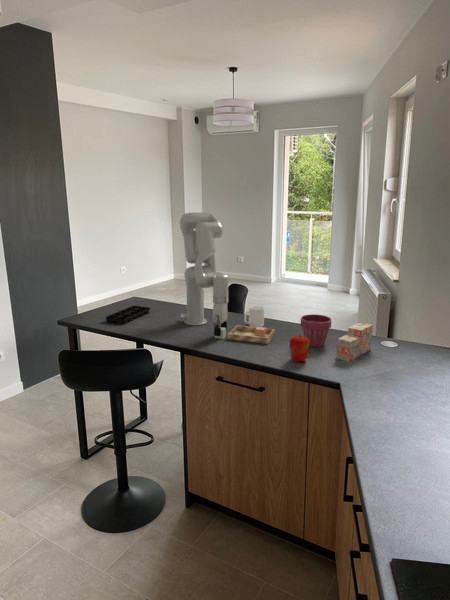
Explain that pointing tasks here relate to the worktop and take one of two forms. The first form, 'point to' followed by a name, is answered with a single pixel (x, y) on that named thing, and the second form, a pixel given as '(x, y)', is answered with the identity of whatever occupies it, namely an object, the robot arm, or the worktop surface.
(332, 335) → the worktop surface
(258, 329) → the terracotta block
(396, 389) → the worktop surface
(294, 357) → the apple
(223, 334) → the sage block
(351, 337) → the stack of blocks
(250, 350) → the worktop surface
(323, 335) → the plant pot
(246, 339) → the oak tray
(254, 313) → the cup
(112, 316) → the egg carton
